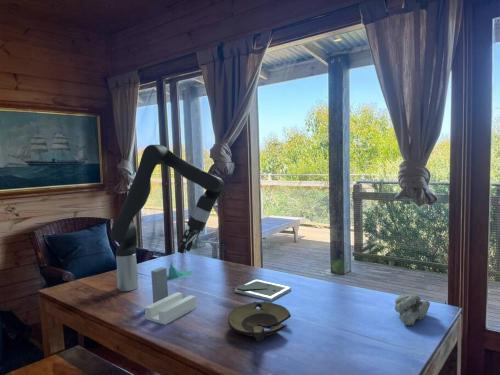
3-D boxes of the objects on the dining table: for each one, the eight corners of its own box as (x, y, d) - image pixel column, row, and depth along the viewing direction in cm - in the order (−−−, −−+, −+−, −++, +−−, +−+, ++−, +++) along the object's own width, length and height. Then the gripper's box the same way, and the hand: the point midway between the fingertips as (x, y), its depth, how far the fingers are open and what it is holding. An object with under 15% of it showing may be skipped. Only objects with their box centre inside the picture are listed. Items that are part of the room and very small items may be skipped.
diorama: (201, 272, 202) (200, 257, 201) (171, 283, 186) (170, 266, 186) (187, 269, 209) (186, 254, 209) (157, 278, 194) (156, 263, 194)
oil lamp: (298, 318, 139) (297, 298, 138) (271, 359, 111) (270, 335, 111) (244, 311, 148) (244, 292, 147) (208, 347, 120) (206, 324, 120)
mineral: (439, 308, 136) (425, 282, 139) (430, 323, 122) (415, 295, 125) (409, 317, 143) (396, 293, 146) (396, 333, 129) (383, 306, 132)
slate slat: (153, 304, 158) (151, 271, 157) (163, 300, 163) (161, 267, 162) (158, 306, 156) (156, 271, 155) (168, 301, 161) (166, 268, 160)
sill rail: (145, 318, 144) (144, 307, 144) (177, 302, 159) (176, 292, 159) (165, 324, 138) (164, 312, 138) (196, 307, 153) (196, 296, 153)
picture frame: (235, 293, 169) (271, 303, 156) (234, 287, 169) (271, 296, 156) (256, 283, 181) (291, 291, 168) (255, 277, 181) (291, 285, 168)
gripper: (196, 214, 168) (182, 246, 169) (186, 214, 154) (170, 249, 155) (210, 221, 167) (196, 253, 167) (201, 222, 153) (185, 257, 153)
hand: (183, 251), depth 161 cm, fingers open, 8 cm apart
